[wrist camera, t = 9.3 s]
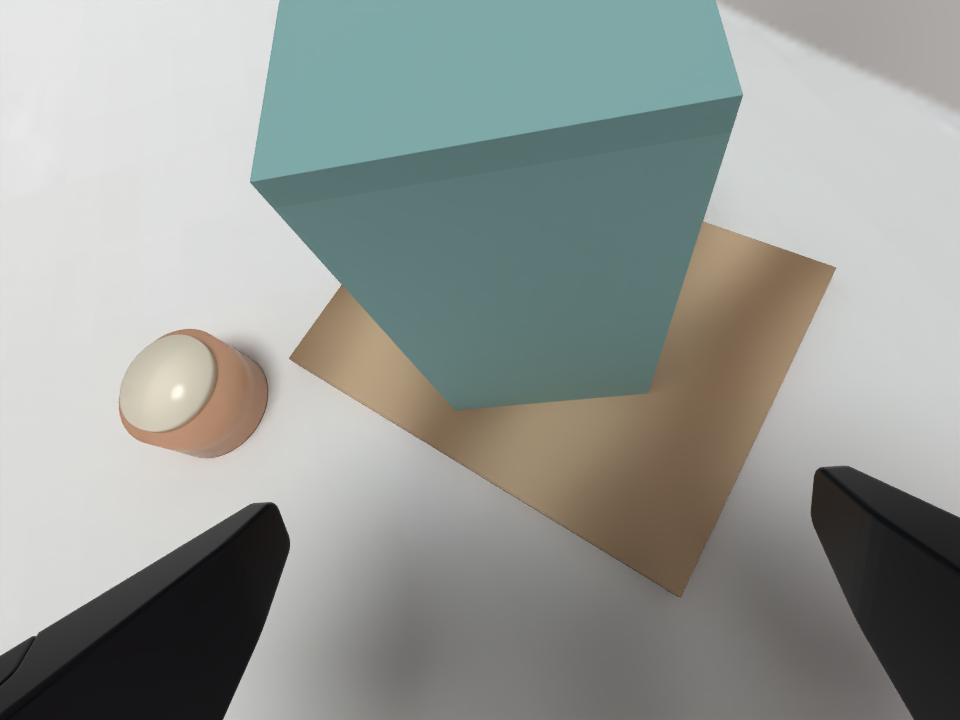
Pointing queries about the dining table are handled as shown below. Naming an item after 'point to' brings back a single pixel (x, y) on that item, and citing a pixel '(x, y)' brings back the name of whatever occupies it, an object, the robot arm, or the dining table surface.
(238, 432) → the jar
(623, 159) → the cover
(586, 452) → the mat
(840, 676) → the dining table surface
